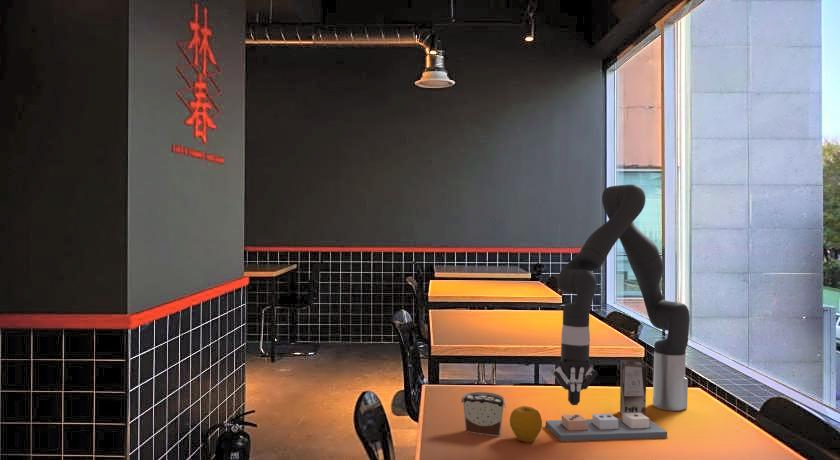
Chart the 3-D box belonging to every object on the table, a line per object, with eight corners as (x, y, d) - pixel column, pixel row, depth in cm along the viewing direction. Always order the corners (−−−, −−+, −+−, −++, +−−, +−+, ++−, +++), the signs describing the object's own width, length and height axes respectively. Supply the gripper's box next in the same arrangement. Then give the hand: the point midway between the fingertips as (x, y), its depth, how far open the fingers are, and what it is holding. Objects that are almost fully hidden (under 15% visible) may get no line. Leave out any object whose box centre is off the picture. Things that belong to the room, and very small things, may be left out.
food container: (509, 429, 173) (509, 394, 172) (505, 437, 167) (505, 400, 167) (466, 424, 177) (466, 389, 176) (460, 431, 171) (461, 395, 171)
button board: (645, 423, 180) (645, 417, 180) (667, 437, 168) (667, 431, 168) (545, 426, 176) (545, 420, 176) (560, 441, 164) (560, 435, 164)
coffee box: (646, 422, 181) (647, 367, 180) (623, 420, 182) (624, 365, 182) (641, 412, 190) (642, 360, 189) (619, 411, 191) (620, 358, 190)
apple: (507, 433, 169) (508, 401, 169) (538, 434, 169) (539, 402, 169) (511, 445, 161) (511, 411, 161) (544, 446, 160) (544, 412, 160)
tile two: (609, 422, 175) (610, 412, 175) (618, 428, 170) (618, 418, 170) (592, 423, 174) (592, 413, 174) (600, 429, 169) (600, 419, 169)
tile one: (640, 421, 176) (640, 411, 176) (649, 427, 171) (649, 417, 171) (622, 422, 175) (622, 412, 175) (631, 428, 170) (631, 418, 170)
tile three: (579, 423, 174) (579, 413, 174) (586, 430, 169) (586, 419, 168) (561, 424, 173) (561, 414, 173) (568, 430, 168) (568, 420, 168)
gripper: (592, 338, 175) (591, 400, 175) (547, 338, 173) (546, 400, 173) (604, 344, 167) (602, 408, 168) (556, 344, 166) (555, 408, 166)
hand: (573, 404), depth 171 cm, fingers closed
